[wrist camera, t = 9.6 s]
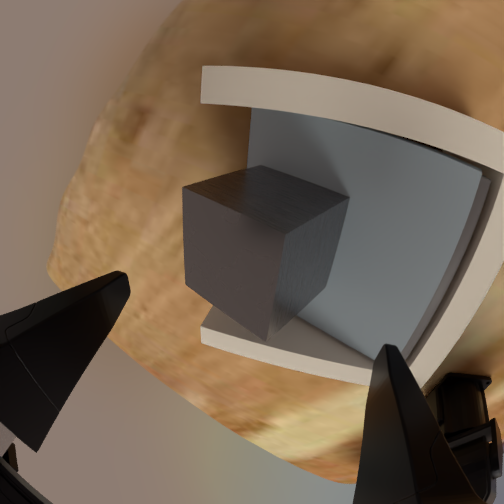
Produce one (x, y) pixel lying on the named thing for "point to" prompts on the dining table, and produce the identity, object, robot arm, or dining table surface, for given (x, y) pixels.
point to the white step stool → (399, 123)
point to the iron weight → (260, 244)
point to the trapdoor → (377, 222)
